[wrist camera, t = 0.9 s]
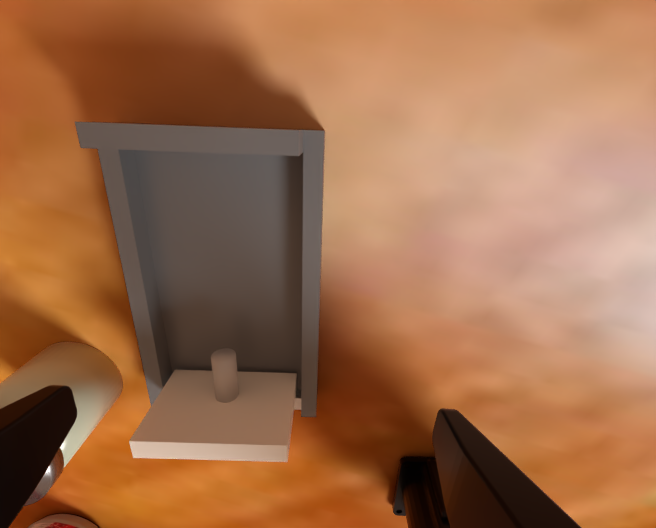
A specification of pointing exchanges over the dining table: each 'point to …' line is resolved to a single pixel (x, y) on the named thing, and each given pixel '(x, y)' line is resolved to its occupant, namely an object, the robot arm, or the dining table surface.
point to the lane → (218, 244)
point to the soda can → (63, 522)
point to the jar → (88, 390)
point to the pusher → (220, 415)
